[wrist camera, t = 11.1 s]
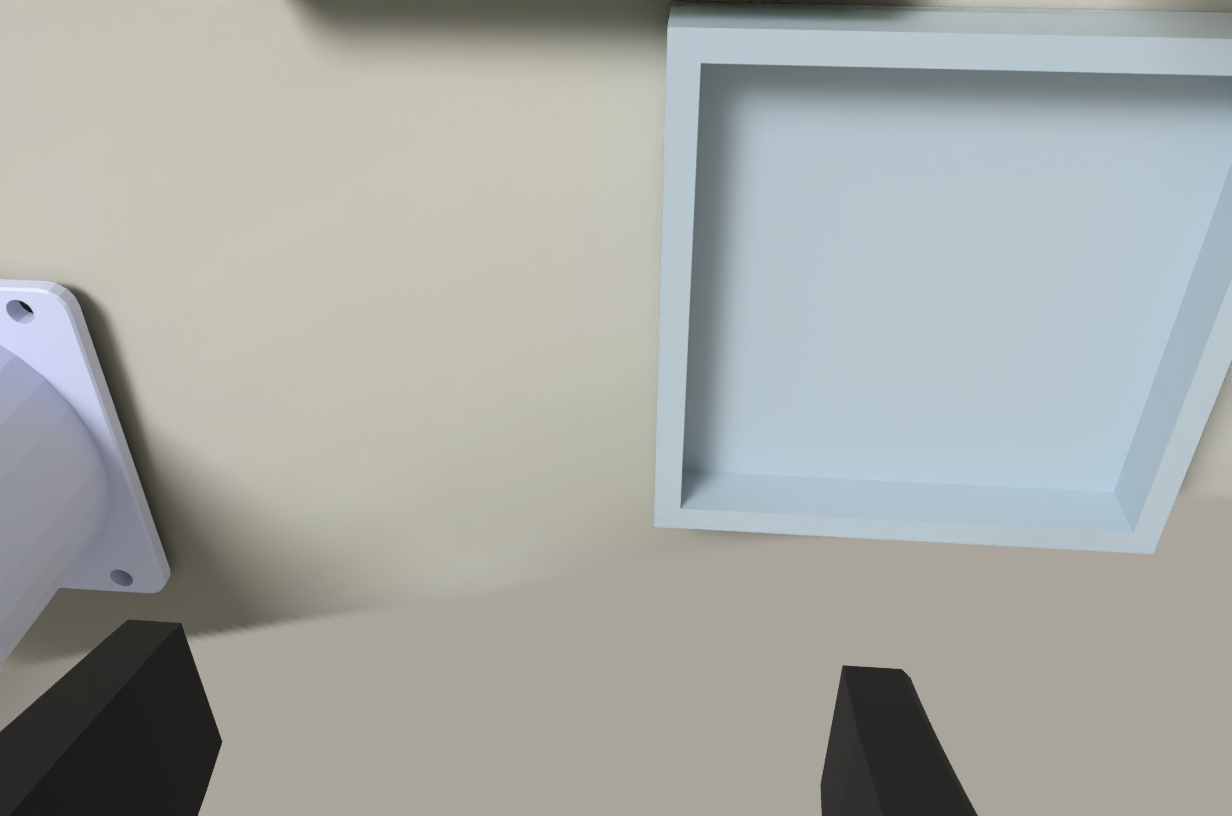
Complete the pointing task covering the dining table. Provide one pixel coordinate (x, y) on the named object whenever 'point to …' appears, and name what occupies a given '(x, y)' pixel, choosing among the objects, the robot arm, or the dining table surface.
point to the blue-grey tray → (941, 270)
